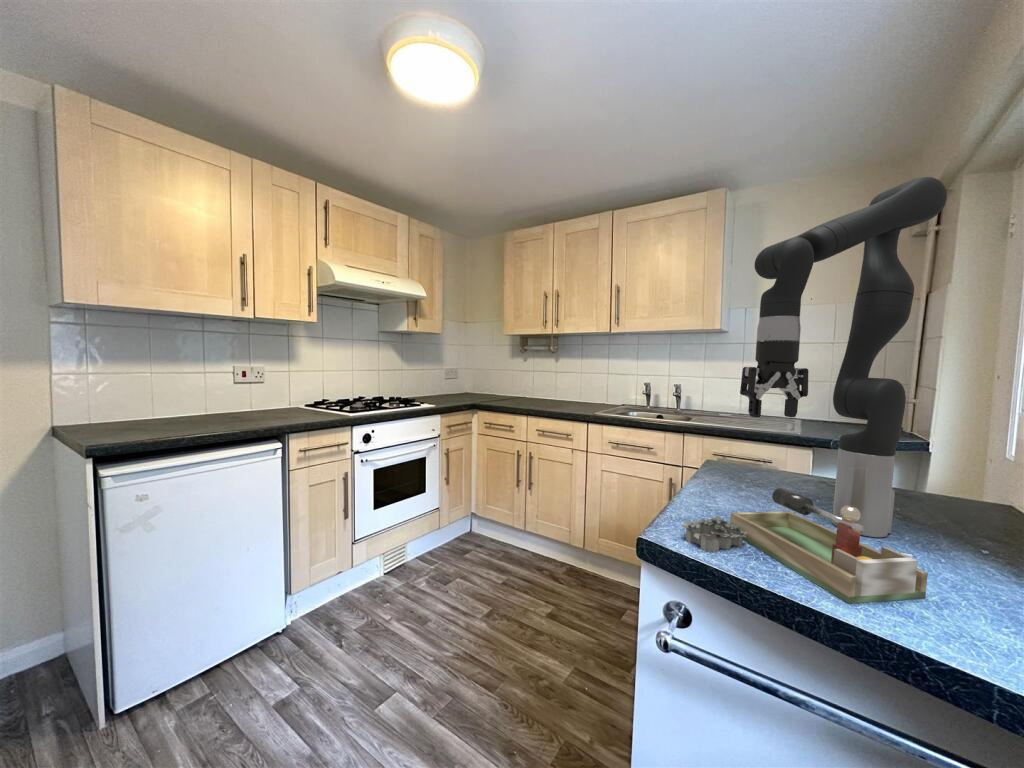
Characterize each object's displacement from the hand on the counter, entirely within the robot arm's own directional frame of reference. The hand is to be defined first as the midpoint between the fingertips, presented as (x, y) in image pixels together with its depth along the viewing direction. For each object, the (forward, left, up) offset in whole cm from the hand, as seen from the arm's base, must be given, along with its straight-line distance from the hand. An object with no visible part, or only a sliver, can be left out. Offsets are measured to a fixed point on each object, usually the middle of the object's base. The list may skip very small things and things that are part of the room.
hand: (772, 416), depth 84 cm
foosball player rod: (+2, +13, -23) cm, 26 cm away
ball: (+2, +22, -21) cm, 31 cm away
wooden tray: (+2, +13, -24) cm, 28 cm away
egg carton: (+15, +4, -25) cm, 29 cm away
